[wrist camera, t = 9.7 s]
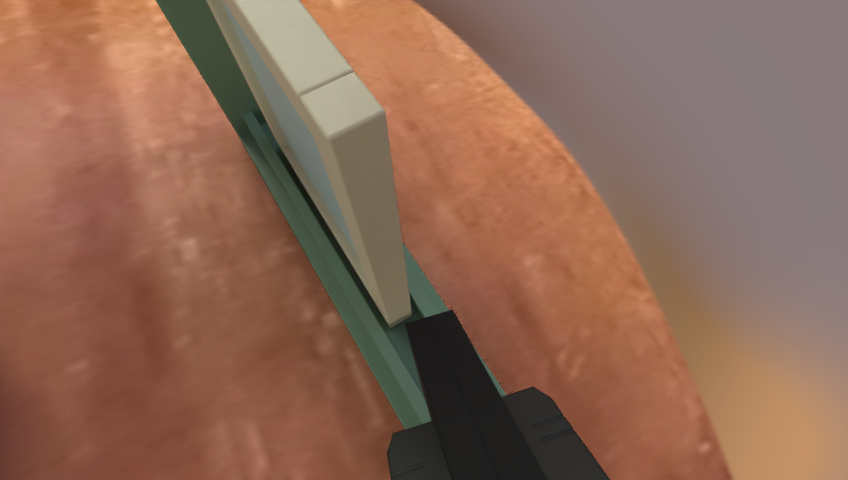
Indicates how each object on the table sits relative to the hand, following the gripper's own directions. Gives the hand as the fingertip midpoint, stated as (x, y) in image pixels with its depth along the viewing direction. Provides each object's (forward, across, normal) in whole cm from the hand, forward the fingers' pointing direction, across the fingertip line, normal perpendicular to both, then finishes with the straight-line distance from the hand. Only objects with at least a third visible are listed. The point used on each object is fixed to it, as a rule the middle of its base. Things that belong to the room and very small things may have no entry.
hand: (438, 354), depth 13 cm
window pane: (+10, -2, +2) cm, 11 cm away
